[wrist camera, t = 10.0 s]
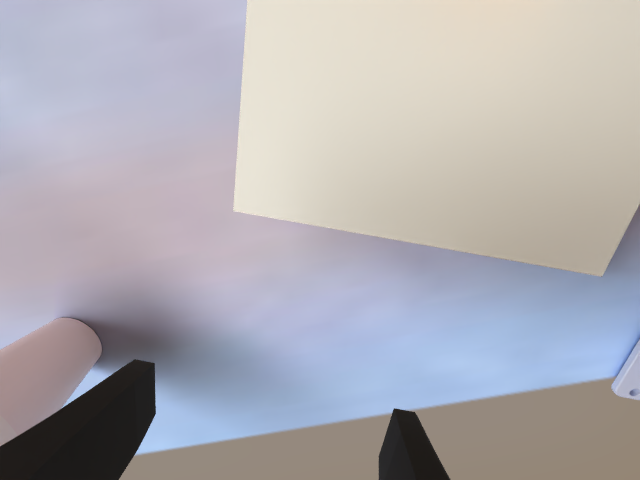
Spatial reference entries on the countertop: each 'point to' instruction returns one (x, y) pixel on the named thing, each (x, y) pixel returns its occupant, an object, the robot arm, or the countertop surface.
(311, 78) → the drywall panel
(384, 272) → the countertop surface
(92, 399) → the robot arm
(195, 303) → the countertop surface
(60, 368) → the smoothie
